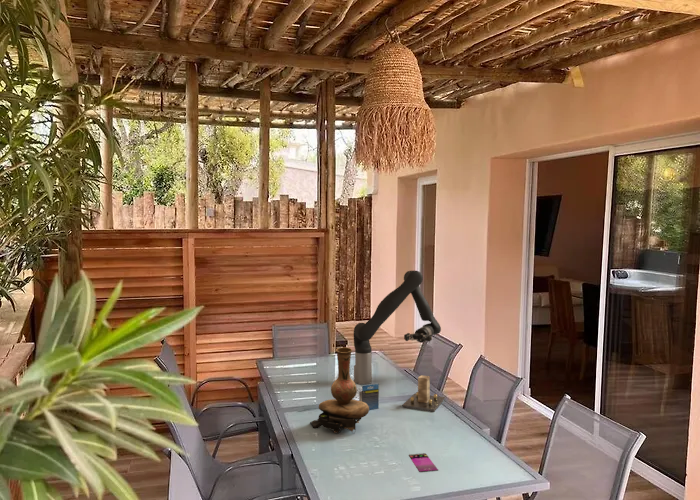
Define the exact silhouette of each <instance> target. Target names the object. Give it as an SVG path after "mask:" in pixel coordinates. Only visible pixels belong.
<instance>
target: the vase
mask: <svg viewBox="0 0 700 500" xmlns="http://www.w3.org/2000/svg"><path fill="white" fill-rule="evenodd" d="M335 351H336V357H337V372H338V373H337V378H336V379H335V380H334V382H333V383H332V385H331V386H330V392H331V395H332V397H333V399H328V400H327V399H326V400H324V401H322V402H320V403H319V404H318V410H319V411H321V412H322V413H320V414H319V415H318V419H315V420H312V421H310V422H309V424H311V425H312V429H315V430H316V429H318V428H319V429H320V428H321V427H322V426H323V427H322V428H325V429H330V430H332V431H333V433H336V434H340V433H341V431H342V430H341V427H343V430H349V431H351V433H354V434H355V431H356V424H360V421H361V420H362V418H364V417H366V416H367V415H368V414H369V411H370V410H369V406H368V405H367V404H366V403H365V402H362V401H359V400H356V399H354V398H355V397H356V395H357V392H358V388H357V385H356V384H357V383H355V382H354V379H352V378H351V373H350V368H351V358H352V356H351V355H352V351H353V349H352V348H351V347H338V348H336V349H335Z"/></svg>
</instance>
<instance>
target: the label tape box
mask: <svg viewBox="0 0 700 500" xmlns="http://www.w3.org/2000/svg"><path fill="white" fill-rule="evenodd" d="M379 385H380V384H379V383H375V384H372V383H371V384H361V391H359V393H358V395H359V396H358V398H359V399H358V401H362V402H365V403H366V404H367V405H368V406H369V411H370V410H376V409H379V408H380V407H379V406H380V405H379V400H380V399H379V397H380V392H379V391H380V389H379V387H380V386H379ZM370 387H371V388H370Z"/></svg>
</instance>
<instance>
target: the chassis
mask: <svg viewBox="0 0 700 500" xmlns="http://www.w3.org/2000/svg"><path fill="white" fill-rule="evenodd" d="M444 399H445V400H446V397H445V396H438V394H437V393H434V394H433V395H430V399H429V401H428V402H427V403H424V402H418V391H417V392H416V393H414V394H412V396H410V397H409V398H408V399H407V400H406V401H404V402H403V403H402V405H401V408H403V409H411V410H417V411H426V412H433V413H434V412H436V411H437V409H438V408H439V407H440V406H441V405H442V404H443V403H444V401H445V400H444ZM443 400H444V401H443ZM442 402H443V403H442ZM441 403H442V404H441Z"/></svg>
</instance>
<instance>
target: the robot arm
mask: <svg viewBox="0 0 700 500" xmlns="http://www.w3.org/2000/svg"><path fill="white" fill-rule="evenodd" d="M403 280H404V281H403V282H402V283H401V284H400V285H399V286H398V287H397V288H395V289H393V290H392V291H391V292H389V293H388V294H387V295H386V296H385V297H384V298H383V299H382V300H381V301H380V302H379V303H378V305H377V307H376V309H375V312H374V313H373V314H372V316H371V317H370V318H369V320H367V322H358V323H356V325H355V326H354V328H353V347H354V354H355V355H354V359H355V360H354V362H355V363H354V365H353V381H354V383H355V384H359V385H370V384H372V382H373V381H372V379H373V378H372V377H373V374H372V371H373V369H372V368H373V367H372V366H373V365H372V364H373V363H372V357H373V356H372V350H373V349H372V346H371V344H370V343H371V342H370V340H371V339H372V338H373V336H374V335H375V334H376V333H377V331H378V330H379V329H380V328H381V326H382V325H383V324H384V323H385V322H386V321H387V320H388V319H389V318H390V316H392V314H394V313H395V311H396V310H398V308H399V307H400V306H401V304H402V303H403V302H404V301H405V300H406V299H407V298H408V296H409V295H410V294H411V296H412V298H413V300H414V303H415V306H416V308H417V311H418V313H419V317H420V319H421V321H423V322H428V323H426V324H423V325H422V327H420V328H417V329H416V330H415V331H414V333H409V332H407V333H405V334H404V336H403V337H404V338H403V339H404V340H405V342H408V341H416V342H418V343H426V342H428V343H429V342H431V341H432V340H433V336H435V335H438V334H440V333H441V331H442V328H441V324H440V323H439V322H438V320H437V319H436V318H435V316H434V314H433V312H432V309H431V306H430V304H429V302H428V300H427V299H426V297H425V295H424V293H423V292H422V290H421V286H420V285H421V284H423V283H422V282H423V280H424V275H423V274H422V272H421V271H418V270H407V271H406V272H405V273H404V275H403Z"/></svg>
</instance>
